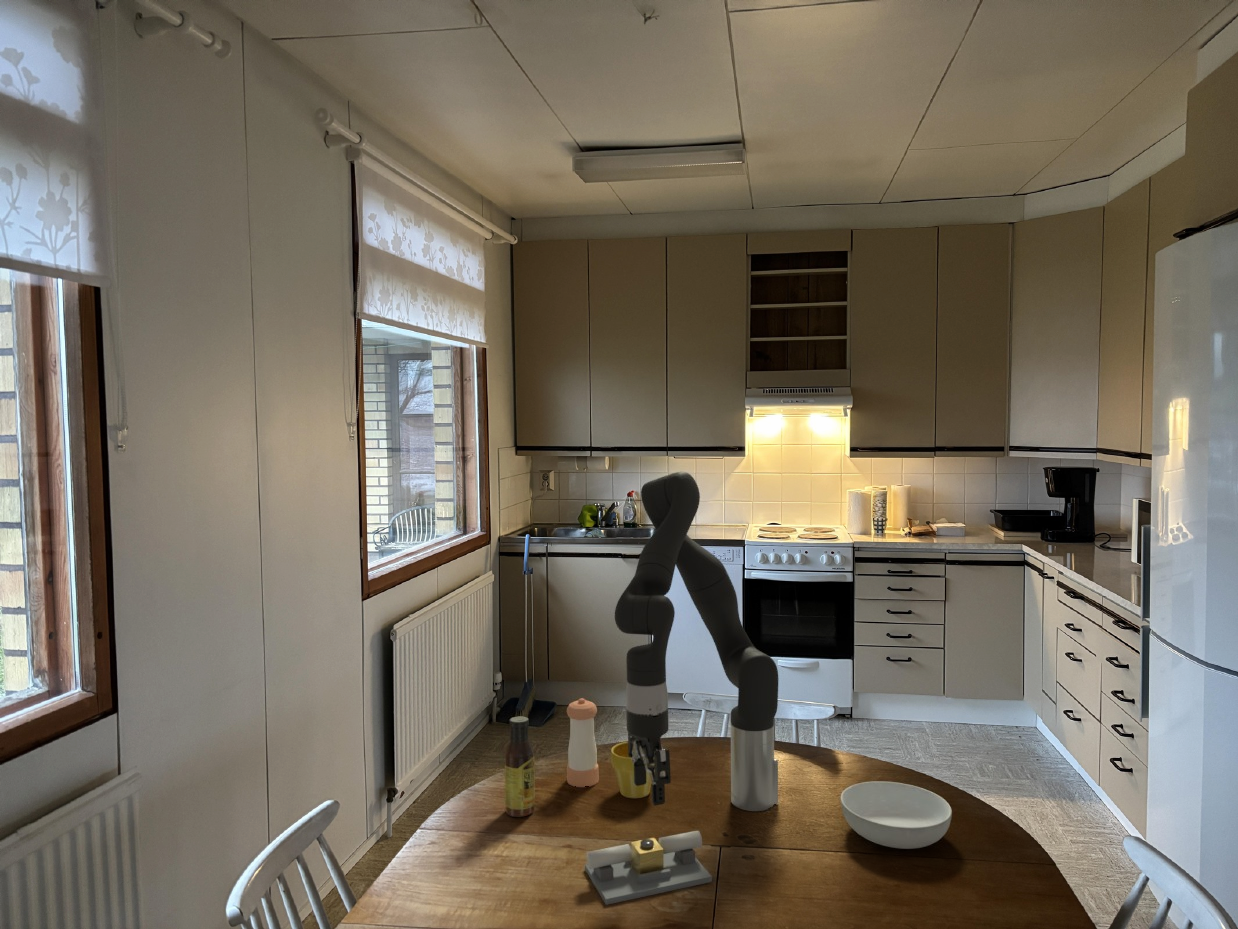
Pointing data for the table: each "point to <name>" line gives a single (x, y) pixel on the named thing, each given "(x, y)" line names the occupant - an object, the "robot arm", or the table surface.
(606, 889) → the twin roller base
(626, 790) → the plant pot
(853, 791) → the serving bowl
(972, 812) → the table surface
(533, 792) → the sauce bottle
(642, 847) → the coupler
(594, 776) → the pepper shaker
